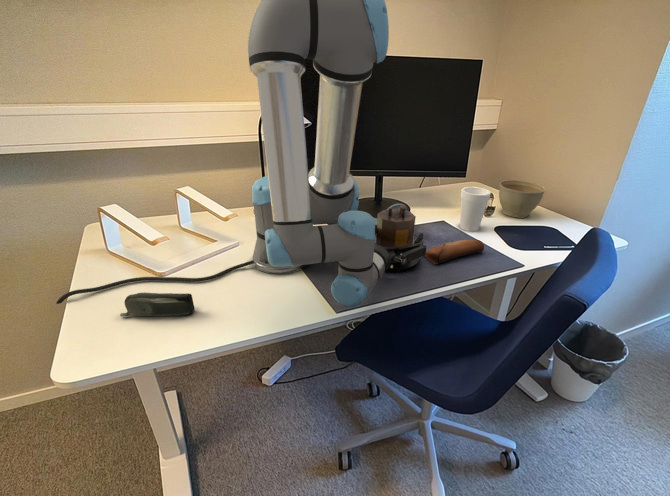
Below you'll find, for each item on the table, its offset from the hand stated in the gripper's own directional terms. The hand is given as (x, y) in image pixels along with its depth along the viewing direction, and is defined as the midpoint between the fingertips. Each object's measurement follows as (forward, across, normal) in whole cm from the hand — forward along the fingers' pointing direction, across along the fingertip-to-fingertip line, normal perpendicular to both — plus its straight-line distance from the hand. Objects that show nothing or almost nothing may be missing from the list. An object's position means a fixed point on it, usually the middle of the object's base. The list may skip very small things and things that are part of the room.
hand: (398, 233), depth 112 cm
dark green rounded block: (-51, -39, -8) cm, 64 cm away
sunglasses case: (+9, +15, -8) cm, 19 cm away
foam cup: (+33, +16, -8) cm, 38 cm away
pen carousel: (-3, 0, -6) cm, 6 cm away
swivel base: (-3, 0, -8) cm, 8 cm away
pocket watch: (+19, -11, -8) cm, 23 cm away
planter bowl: (+56, +30, -8) cm, 64 cm away
